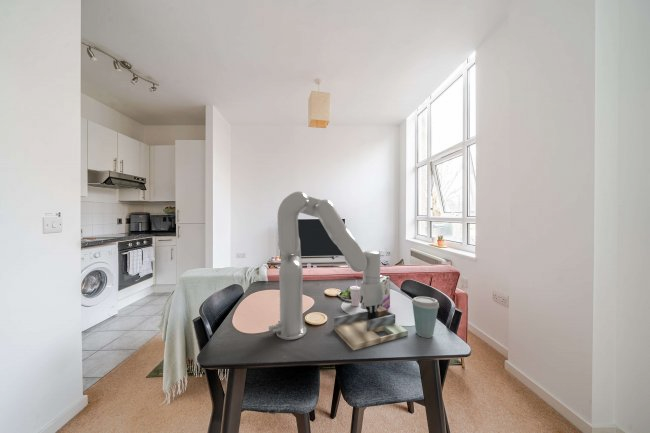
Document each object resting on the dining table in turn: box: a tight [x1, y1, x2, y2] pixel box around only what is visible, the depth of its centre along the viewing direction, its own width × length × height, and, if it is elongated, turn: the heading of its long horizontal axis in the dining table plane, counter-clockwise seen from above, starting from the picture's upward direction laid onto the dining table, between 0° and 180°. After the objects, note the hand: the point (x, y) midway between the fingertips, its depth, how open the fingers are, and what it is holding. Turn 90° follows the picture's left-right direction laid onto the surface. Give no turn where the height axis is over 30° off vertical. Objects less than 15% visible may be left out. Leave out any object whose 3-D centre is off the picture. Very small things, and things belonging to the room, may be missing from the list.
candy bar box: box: [380, 274, 391, 310], centre depth 124 cm, size 11×5×16 cm, turn 143°
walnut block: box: [375, 306, 388, 318], centre depth 107 cm, size 5×5×5 cm
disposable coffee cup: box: [411, 296, 440, 339], centre depth 98 cm, size 11×11×15 cm
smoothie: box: [349, 279, 360, 307], centre depth 129 cm, size 6×6×14 cm
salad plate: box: [337, 286, 352, 303], centre depth 140 cm, size 19×18×5 cm
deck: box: [333, 309, 409, 351], centre depth 100 cm, size 26×17×6 cm, turn 114°
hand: (371, 319), depth 104 cm, fingers closed
